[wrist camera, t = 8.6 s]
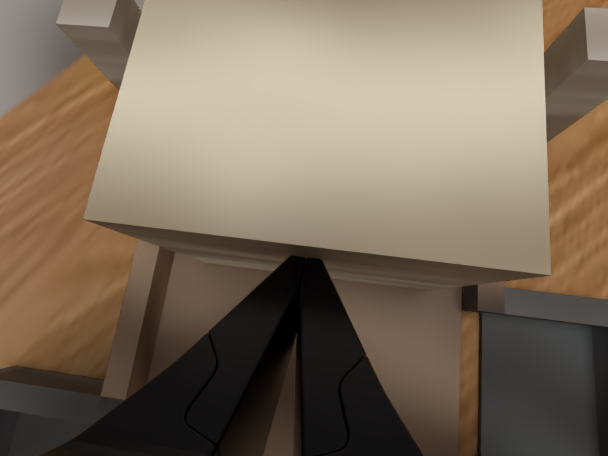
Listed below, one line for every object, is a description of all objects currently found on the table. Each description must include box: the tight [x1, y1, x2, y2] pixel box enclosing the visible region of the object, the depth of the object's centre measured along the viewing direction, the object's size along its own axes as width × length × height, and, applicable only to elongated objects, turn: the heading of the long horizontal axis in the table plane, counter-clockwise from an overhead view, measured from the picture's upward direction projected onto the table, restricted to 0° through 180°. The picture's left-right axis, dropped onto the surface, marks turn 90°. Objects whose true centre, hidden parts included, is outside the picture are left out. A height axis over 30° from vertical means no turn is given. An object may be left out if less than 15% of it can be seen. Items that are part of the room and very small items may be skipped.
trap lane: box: [0, 0, 608, 456], centre depth 12 cm, size 28×26×6 cm
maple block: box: [83, 0, 551, 291], centre depth 12 cm, size 14×10×8 cm
